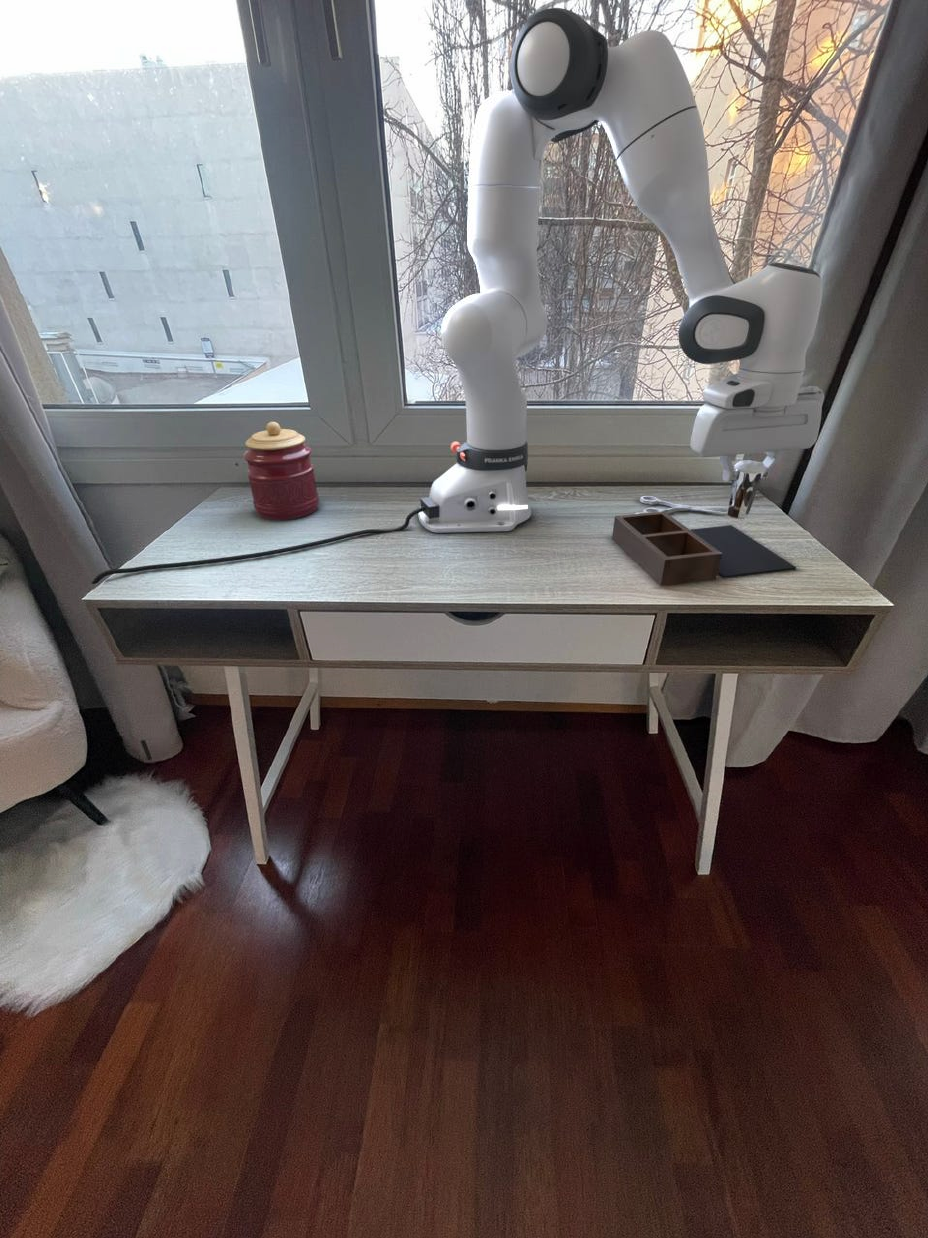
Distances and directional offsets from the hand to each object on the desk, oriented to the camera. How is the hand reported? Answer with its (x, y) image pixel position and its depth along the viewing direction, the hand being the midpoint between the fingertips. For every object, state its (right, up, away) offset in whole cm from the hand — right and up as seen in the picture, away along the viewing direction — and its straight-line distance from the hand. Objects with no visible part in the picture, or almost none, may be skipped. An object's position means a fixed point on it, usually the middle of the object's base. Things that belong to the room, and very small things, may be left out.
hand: (745, 478), depth 96 cm
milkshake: (0, -5, +3) cm, 6 cm away
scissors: (-2, -1, +22) cm, 22 cm away
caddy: (-12, -12, +4) cm, 18 cm away
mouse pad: (0, -11, +6) cm, 13 cm away
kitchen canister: (-82, 0, +27) cm, 86 cm away
